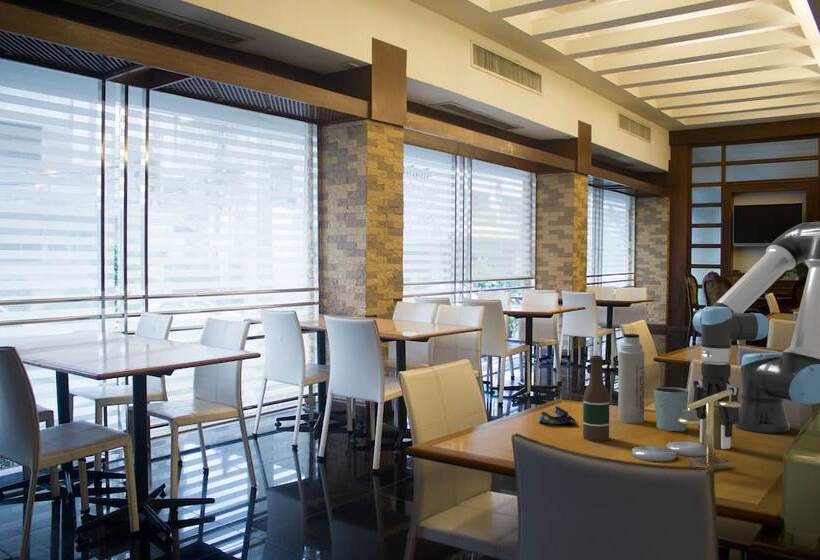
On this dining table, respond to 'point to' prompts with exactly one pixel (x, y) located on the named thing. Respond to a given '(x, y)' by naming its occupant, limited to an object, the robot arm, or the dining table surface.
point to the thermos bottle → (631, 380)
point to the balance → (708, 429)
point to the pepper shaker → (716, 428)
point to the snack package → (560, 419)
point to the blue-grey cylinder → (670, 407)
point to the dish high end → (687, 448)
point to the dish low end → (653, 453)
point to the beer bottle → (596, 404)
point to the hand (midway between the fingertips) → (714, 444)
